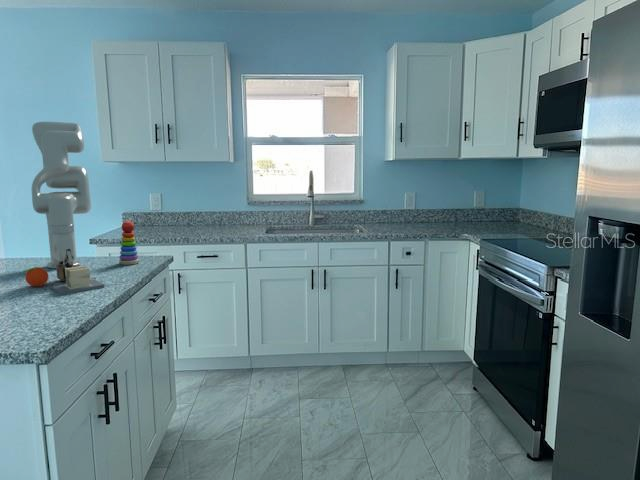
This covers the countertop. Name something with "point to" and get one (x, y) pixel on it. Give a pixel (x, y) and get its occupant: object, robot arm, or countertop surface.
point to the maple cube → (77, 276)
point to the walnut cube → (61, 271)
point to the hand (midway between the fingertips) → (66, 276)
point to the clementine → (36, 276)
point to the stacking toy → (128, 245)
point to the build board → (67, 290)
